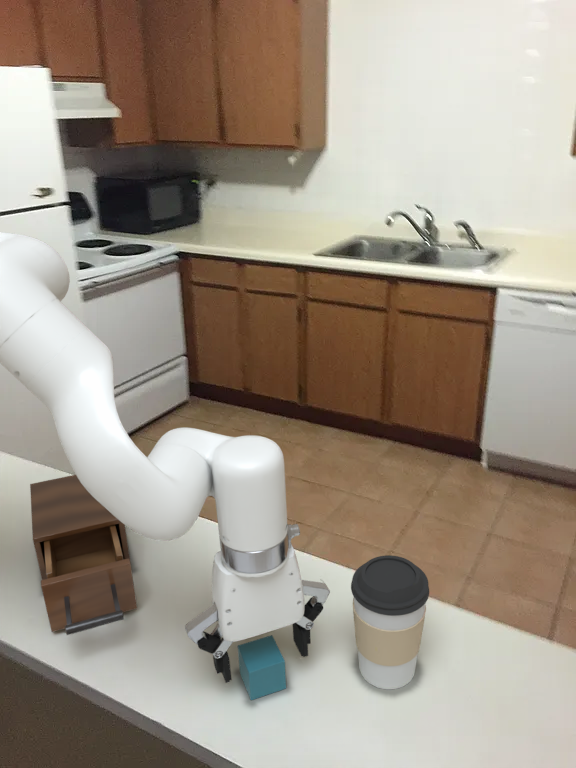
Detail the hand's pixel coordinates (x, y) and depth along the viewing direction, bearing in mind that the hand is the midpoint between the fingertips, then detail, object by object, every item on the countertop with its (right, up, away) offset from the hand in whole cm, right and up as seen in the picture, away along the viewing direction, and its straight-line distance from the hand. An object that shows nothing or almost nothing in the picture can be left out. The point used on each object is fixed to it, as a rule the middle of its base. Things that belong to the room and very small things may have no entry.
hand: (263, 660), depth 80 cm
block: (0, -3, +1) cm, 3 cm away
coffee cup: (+15, -2, +3) cm, 16 cm away
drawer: (-25, +3, +14) cm, 28 cm away
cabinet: (-29, +7, +26) cm, 40 cm away
